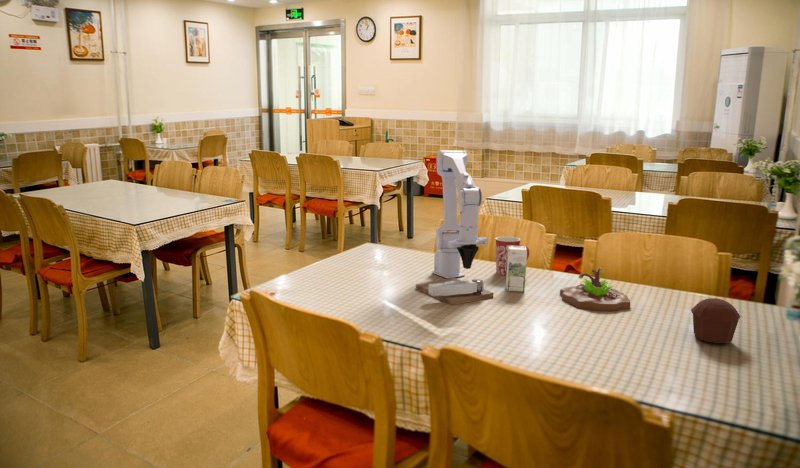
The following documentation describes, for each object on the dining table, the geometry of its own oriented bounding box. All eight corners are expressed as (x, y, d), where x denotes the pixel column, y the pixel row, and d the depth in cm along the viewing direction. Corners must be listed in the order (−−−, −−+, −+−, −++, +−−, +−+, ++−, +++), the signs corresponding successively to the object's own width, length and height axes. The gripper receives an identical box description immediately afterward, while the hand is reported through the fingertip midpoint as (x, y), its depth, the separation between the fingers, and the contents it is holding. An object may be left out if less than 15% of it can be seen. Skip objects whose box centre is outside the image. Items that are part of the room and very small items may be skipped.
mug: (489, 275, 209) (490, 238, 207) (500, 270, 217) (502, 235, 214) (521, 281, 202) (523, 243, 200) (532, 276, 209) (534, 239, 207)
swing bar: (479, 288, 184) (479, 278, 184) (485, 291, 181) (485, 281, 180) (428, 293, 178) (428, 283, 177) (432, 296, 175) (433, 286, 174)
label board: (415, 288, 192) (416, 282, 191) (454, 282, 200) (454, 276, 200) (452, 304, 175) (452, 298, 175) (493, 297, 183) (493, 291, 183)
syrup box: (522, 287, 195) (525, 245, 192) (524, 292, 189) (527, 249, 186) (505, 287, 195) (507, 244, 193) (507, 292, 189) (509, 248, 187)
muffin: (694, 326, 160) (698, 291, 158) (740, 336, 153) (745, 299, 151) (683, 338, 151) (687, 301, 149) (731, 349, 144) (736, 310, 142)
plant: (576, 312, 171) (579, 275, 169) (552, 293, 190) (555, 259, 188) (641, 311, 173) (645, 274, 171) (611, 292, 193) (614, 259, 190)
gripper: (458, 230, 176) (456, 273, 178) (494, 226, 183) (492, 268, 186) (444, 226, 182) (442, 268, 184) (480, 222, 189) (478, 263, 192)
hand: (466, 268), depth 185 cm, fingers closed
